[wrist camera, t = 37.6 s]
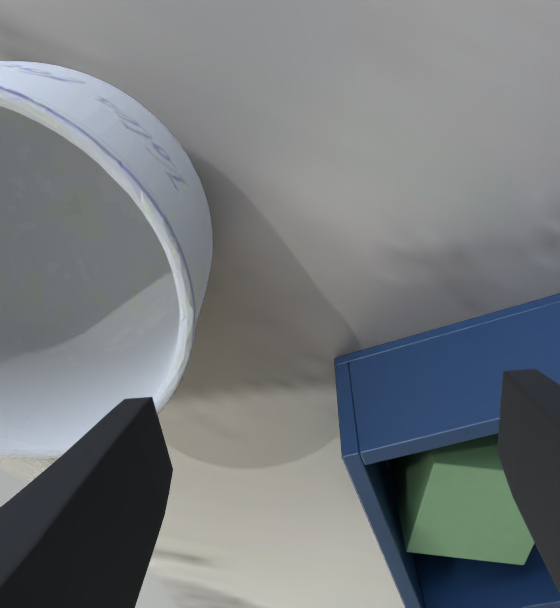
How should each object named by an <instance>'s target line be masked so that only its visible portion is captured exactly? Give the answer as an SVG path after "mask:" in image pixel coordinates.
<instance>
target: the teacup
mask: <svg viewBox="0 0 560 608" xmlns="http://www.w3.org/2000/svg"><path fill="white" fill-rule="evenodd" d="M212 253H213V233H212V223H211V216H210V210H209V206H208V202H207V199H206V195H205V192H204V190H203V187H202V184H201V181H200V179H199V177H198V175H197V173H196V171H195V169H194V167H193V165H192V163H191V161H190V159H189V157H188V156H187V154H186V153H185V151H184V149H183V148H182V147H181V145H180V144H179V142H178V141H177V140H176V139H175V137H174V136H173V135H172V134H171V133H170V132H169V130H168V129H167V128H166V127H165V126H164V125H163V124H162V123H161V121H160V120H158V119H157V118H156V117H155V116H154V115H153V114H152V113H150V112H149V111H148V110H147V109H146V108H144V107H143V106H142V105H141V104H140V103H139V102H137V101H136V100H134V99H133V98H131V97H130V96H128V95H127V94H125V93H124V92H122V91H120V90H119V89H117V88H115V87H113V86H111V85H109V84H108V83H106V82H104V81H101V80H99V79H97V78H94V77H92V76H89V75H87V74H84V73H81V72H78V71H74V70H71V69H68V68H64V67H61V66H56V65H50V64H43V63H35V62H22V61H0V456H7V457H14V458H49V459H51V458H59V457H61V456H62V455H63V454H64V453H65V452H66V451H67V450H68V449H70V448H71V447H72V446H73V445H74V444H75V443H76V442H77V441H78V440H79V439H81V438H82V437H83V436H84V435H85V434H86V433H87V432H88V431H89V430H90V429H91V428H92V427H94V426H95V425H96V424H97V423H98V422H99V421H100V420H101V419H102V418H103V417H104V416H105V415H107V414H108V413H109V412H110V411H111V410H112V409H113V408H114V407H115V406H117V405H118V404H119V403H120V402H121V401H123V400H124V399H129V398H143V397H152V398H153V401H154V405H155V408H156V412H157V414H158V413H159V412H160V411H161V410H162V409H163V408H164V407H165V405H166V404H167V403H168V401H169V400H170V399H171V397H172V396H173V394H174V392H175V391H176V389H177V387H178V385H179V384H180V382H181V380H182V378H183V375H184V371H185V369H186V367H187V364H188V362H189V359H190V356H191V352H192V347H193V342H194V336H195V326H196V323H197V320H198V317H199V313H200V310H201V306H202V303H203V299H204V296H205V292H206V288H207V284H208V279H209V274H210V268H211V262H212Z"/></svg>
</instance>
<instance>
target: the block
mask: <svg viewBox="0 0 560 608" xmlns="http://www.w3.org/2000/svg"><path fill="white" fill-rule="evenodd" d="M497 444H498V433H497V434H493V435H489V436H485V437H481V438H476V439H472V440H468V441H464V442H460V443H456V444H452V445H447V446H443V447H439V448H435V449H431V450H427V451H423V452H418V453H414V454H410V455H406V456H402V457H398V458H394V459H391V462H390V470H391V476H392V481H393V486H394V491H395V496H396V502H397V507H398V512H399V517H400V523H401V528H402V533H403V538H404V544H405V549H406V552H411V553H420V554H429V555H438V556H446V557H455V558H464V559H473V560H481V561H490V562H499V563H508V564H517V565H524V564H525V562H526V560H527V558H528V556H529V554H530V551H531V549H532V547H533V545H534V543H535V542H534V540H533V538H532V536H531V534H530V532H529V530H528V528H527V526H526V524H525V522H524V520H523V518H522V516H521V513H520V511H519V509H518V507H517V505H516V503H515V501H514V499H513V496H512V494H511V491H510V488H509V485H508V482H507V479H506V476H505V473H504V470H503V467H502V464H501V461H500V458H499V455H498V452H497Z"/></svg>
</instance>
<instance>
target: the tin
mask: <svg viewBox="0 0 560 608" xmlns="http://www.w3.org/2000/svg"><path fill="white" fill-rule="evenodd" d="M334 365H335V378H336V390H337V403H338V415H339V427H340V440H341V452H342V459H343V461H344V464H345V466H346V469H347V471H348V473H349V476H350V478H351V480H352V483H353V485H354V488H355V490H356V492H357V495H358V497H359V499H360V502H361V504H362V506H363V509H364V511H365V514H366V516H367V518H368V521H369V523H370V525H371V528H372V530H373V533H374V535H375V537H376V540H377V542H378V544H379V547H380V549H381V552H382V554H383V556H384V559H385V561H386V563H387V566H388V568H389V571H390V573H391V575H392V578H393V580H394V582H395V585H396V587H397V590H398V592H399V594H400V597H401V599H402V601H403V604H404V606H405V608H560V594H559V592H558V590H557V587H556V585H555V583H554V581H553V579H552V577H551V575H550V573H549V571H548V569H547V567H546V565H545V563H544V561H543V559H542V557H541V555H540V553H539V551H538V549H537V547H536V545H535V543H534V545H533V547H532V549H531V551H530V554H529V556H528V558H527V560H526V562H525V564H524V565H517V564H508V563H499V562H490V561H481V560H473V559H464V558H455V557H446V556H438V555H429V554H420V553H411V552H406V549H405V544H404V538H403V533H402V528H401V523H400V517H399V512H398V507H397V502H396V496H395V491H394V486H393V481H392V476H391V470H390V462H391V459H394V458H398V457H402V456H406V455H410V454H414V453H418V452H423V451H427V450H431V449H435V448H439V447H443V446H447V445H452V444H456V443H460V442H464V441H468V440H472V439H476V438H481V437H485V436H489V435H493V434H497V433H498V431H499V418H500V406H501V393H502V380H503V371H510V370H524V369H537V370H538V371H540V372H541V373H543V374H544V375H546V376H547V377H549V378H550V379H552V380H553V381H555V382H556V383H558V384H559V385H560V294H557V295H553V296H550V297H546V298H543V299H539V300H536V301H532V302H529V303H526V304H522V305H519V306H515V307H512V308H508V309H505V310H501V311H498V312H494V313H491V314H487V315H484V316H480V317H477V318H473V319H470V320H466V321H463V322H459V323H456V324H452V325H449V326H445V327H442V328H438V329H435V330H432V331H428V332H425V333H421V334H418V335H414V336H411V337H407V338H404V339H400V340H397V341H393V342H390V343H386V344H383V345H379V346H376V347H372V348H369V349H365V350H362V351H358V352H355V353H351V354H348V355H344V356H341V357H337V358H335V359H334Z"/></svg>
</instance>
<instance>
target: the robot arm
mask: <svg viewBox="0 0 560 608" xmlns="http://www.w3.org/2000/svg"><path fill="white" fill-rule="evenodd" d="M497 452H498V455H499V458H500V461H501V464H502V467H503V470H504V473H505V476H506V479H507V482H508V485H509V488H510V491H511V494H512V496H513V499H514V501H515V503H516V505H517V507H518V509H519V511H520V513H521V516H522V518H523V520H524V522H525V524H526V526H527V528H528V530H529V532H530V534H531V536H532V538H533V540H534V542H535V545H536V547H537V549H538V551H539V553H540V555H541V557H542V559H543V561H544V563H545V565H546V567H547V569H548V571H549V573H550V575H551V577H552V579H553V581H554V583H555V585H556V587H557V590H558V592H559V594H560V385H559V384H558V383H556V382H555V381H553V380H552V379H550V378H549V377H547V376H546V375H544V374H543V373H541V372H540V371H538V370H537V369H524V370H510V371H503V380H502V393H501V406H500V418H499V431H498V444H497ZM172 472H173V468H172V464H171V461H170V457H169V454H168V450H167V447H166V443H165V440H164V436H163V433H162V429H161V426H160V422H159V419H158V415H157V412H156V408H155V405H154V401H153V398H152V397H143V398H129V399H124V400H123V401H121V402H120V403H119V404H118V405H117V406H115V407H114V408H113V409H112V410H111V411H110V412H109V413H108V414H107V415H105V416H104V417H103V418H102V419H101V420H100V421H99V422H98V423H97V424H96V425H95V426H94V427H92V428H91V429H90V430H89V431H88V432H87V433H86V434H85V435H84V436H83V437H82V438H81V439H79V440H78V441H77V442H76V443H75V444H74V445H73V446H72V447H71V448H70V449H68V450H67V451H66V452H65V453H64V454H63V455H62V456H61V457H60V458H59V459H57V460H56V461H55V462H54V463H53V464H52V465H51V466H50V467H48V468H47V469H46V470H45V471H44V472H42V473H41V474H40V475H39V476H38V477H36V478H35V479H34V480H33V481H32V482H31V483H29V484H28V485H27V486H26V487H25V488H23V489H22V490H21V491H20V492H19V493H17V494H16V495H15V496H14V497H13V498H12V499H10V500H9V501H8V502H7V503H5V504H4V505H3V506H2V507H0V608H135V605H136V602H137V599H138V596H139V592H140V589H141V587H142V584H143V580H144V577H145V574H146V571H147V568H148V565H149V562H150V559H151V556H152V553H153V550H154V547H155V544H156V540H157V537H158V534H159V531H160V528H161V525H162V521H163V518H164V515H165V510H166V505H167V500H168V495H169V490H170V484H171V478H172Z"/></svg>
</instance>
